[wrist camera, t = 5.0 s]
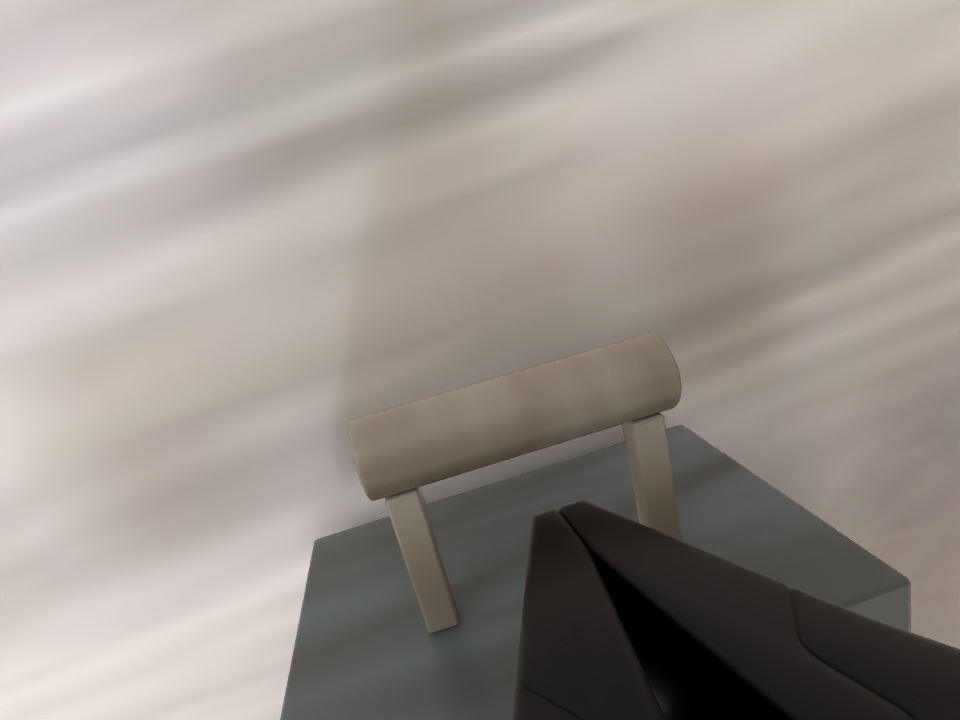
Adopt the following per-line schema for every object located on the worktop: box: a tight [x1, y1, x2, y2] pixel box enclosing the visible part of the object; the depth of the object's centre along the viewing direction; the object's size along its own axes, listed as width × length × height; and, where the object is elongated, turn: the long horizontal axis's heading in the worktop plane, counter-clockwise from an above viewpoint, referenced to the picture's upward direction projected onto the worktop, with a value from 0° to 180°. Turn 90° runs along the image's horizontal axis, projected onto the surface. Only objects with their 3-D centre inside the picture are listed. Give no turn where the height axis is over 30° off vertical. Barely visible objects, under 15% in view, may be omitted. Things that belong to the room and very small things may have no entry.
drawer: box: [280, 333, 911, 720], centre depth 12 cm, size 17×10×7 cm, turn 13°
